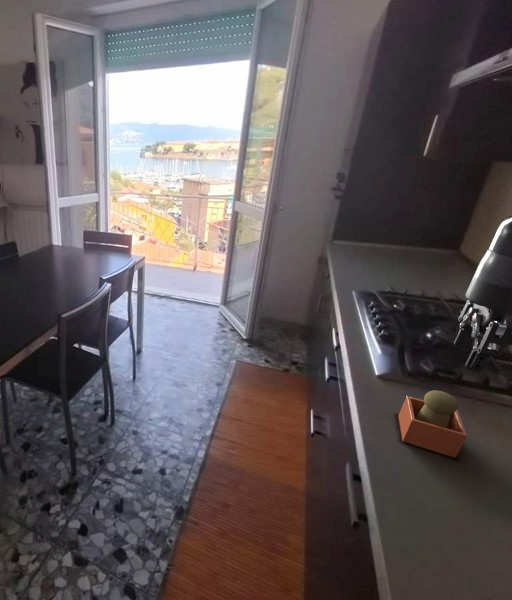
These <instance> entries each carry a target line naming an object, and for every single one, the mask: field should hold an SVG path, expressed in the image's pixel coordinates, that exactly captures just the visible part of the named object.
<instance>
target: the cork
mask: <svg viewBox="0 0 512 600" xmlns="http://www.w3.org/2000/svg"><path fill="white" fill-rule="evenodd" d="M423 400H424V403H425V405H424V406H423V407H422V409H421V410H420V412H419V413H418V414H417V416H416V417H415V420H419V421H423V422H426V423H430V424H433V425H437V426H440V427H444V428H447V426H448V422H449V418H450V414H453V413H454V412H455V411H456V410H458V409H459V402H458V400H457V399H456V397H454V396H452V394H449V393H448V392H445V391H442V390H435V389H433V390H430V391H428V392H426V394H424V397H423Z"/></svg>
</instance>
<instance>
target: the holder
mask: <svg viewBox="0 0 512 600" xmlns="http://www.w3.org/2000/svg"><path fill="white" fill-rule="evenodd" d="M424 405H425V403H424V399H420V398H416V397H413V396H410V395H406V397H405V400H404V402H403V404H402V406H401V409H400V411H399V414H398V415H397V416H398V423H399V428H400V434H401V441H402V442H404V443H407V444H411V445H414V446H417V447H419V448H423V449H425V450H429V451H432V452H436V453H438V454H442V455H445V456H447V457H452V458H455V459H456V457H457V456H458V454H459V452H460V450H461V448H462V447H463V445H464V443H465V441H466V440H467V438H468V434H467V432H466V429H465V427H464V424H463V421H462V419H461V416H460V413H459V410H458V409H457V410H456V411H455V412H454V413H453V414H450V418H449V422H448V426H447V428H444V427H440V426H437V425H433V424H430V423H426V422H423V421H419V420H415V417H416V416H417V414H418V413H419V412H420V410H421V409H422V407H423V406H424Z"/></svg>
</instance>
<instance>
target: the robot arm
mask: <svg viewBox="0 0 512 600" xmlns="http://www.w3.org/2000/svg"><path fill="white" fill-rule="evenodd" d="M464 295H465V298H466V299H467V300H466V303H465V305H463V309H462V311H461V313H460V314H459V316H458V319H457V320H458V322H460V323H459V326H458V327H459V331H458V333H457V335H456V337H455V338H454V339H455V340H454V341H453V345H454V346H455V347H456V348H460V349H463V350H464V349H465V350H467V349H470V347H471V345H472V343H473V346H472V349H471V351H470V353H469V355H468V358H467V360H466V362H465V364H464V366H465V367H464V368H465V369H466V370H469V371H473V372H477V373H479V372H483V370H484V369H485V366H486V365H487V362H488V360H489V359H490V357H493V358H499V357H500V356H501V355H502V351H503V350H504V348H505V346H506V344H507V342H508V339H509V338H510V336H511V334H512V324H508V323H507V314H509V313H512V215H508V216H506V217H505V218H504V219H503V220H502V221H501V222H500V223H499V225H498V227H497V229H496V231H495V233H494V235H493V238H492V240H491V241H490V244H489V246H488V248H487V249H486V252H485V254H484V255H483V256H482V258H481V259H480V261H479V263H478V265H477V268H476V270H475V272H474V274H473V276H472V279H471V281H470V284H469V286H468V288H467V290H466V292H465V294H464ZM473 340H474V341H473Z"/></svg>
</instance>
